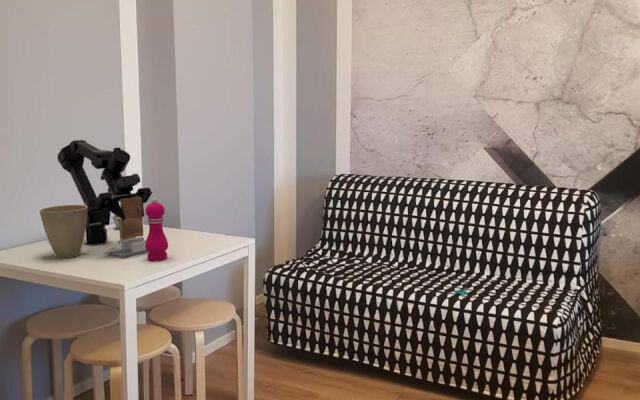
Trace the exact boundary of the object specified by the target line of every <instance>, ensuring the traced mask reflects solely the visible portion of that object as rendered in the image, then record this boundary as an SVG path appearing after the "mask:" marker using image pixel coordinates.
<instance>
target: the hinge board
mask: <svg viewBox="0 0 640 400" xmlns="http://www.w3.org/2000/svg"><path fill="white" fill-rule="evenodd" d="M146 240H147V239H145V237H144V236H140V237H136V238H133V239H128V240H123V241H120V240H119V242H120V249H117V250H112V251H109V252H107V254H108V256H110V257H114V258H119V259H127V258H131V257H132V258H133V257H136V256H140V255H145V254H148V253H149V252H148V251H147V250H146V248H145V244H146Z"/></svg>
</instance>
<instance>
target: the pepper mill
mask: <svg viewBox="0 0 640 400" xmlns="http://www.w3.org/2000/svg"><path fill="white" fill-rule="evenodd" d="M165 210H166V209H165V207H164V205H163V204H161V203H160V202H158V198H156V197H153V198H152V199H151V203H149V204H148V205H147V206H146V207H145V210H144V213H145V216H146V217H147V223H148V228H149V229H148V234H147V238H146V239H145V240H146V244H145V248H146V250H147V251H148V252H149V253H146V254H147V260H148V261H152V262H161V261H166V260H167V259H168V253H167V250H168V248H169V242H168V238H167V236H166V234H165V232H164V229H163V223H164V217H163V216H164V215H165Z"/></svg>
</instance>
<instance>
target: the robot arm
mask: <svg viewBox="0 0 640 400" xmlns="http://www.w3.org/2000/svg"><path fill="white" fill-rule="evenodd" d="M85 159H88V160H90V164H91V165H92V166H93V167H94V168H95V169H96V170H101V169H102V172H101V176H100V180H101V181H103V180H104V181H105V183H106V185H107V187H108V188H107V192H100V193H99V194H98V195H97V194H96V192H95V190H94V188H93V185H92V184H91V181H90V179H89V177H88V175H87V173H86V171H85V168H84V163H85ZM57 161H58V163H59V165H60V166H61V168H62V169H64V170H65V171H66V172H68V173H69V174H70V176H71V178H72V180H73V182H74V184H75V187H76V188H77V191H78V193H79V195H80V197H81V199H82V202H83V203H84V205H85V206H87V207H88V208H87V221H86V229H85V236H86V237H85V239H86V242H85V244H84V245H86V246H87V245H104V244H105V243H106V242H107V241H108V229H107V228H106V226H110V222H111V221H110V220H111V213H112V214H113V215H114V214H115V215H117V216H118V217H120V218H121V219H123V220H125V219H126V217H125V215H124V213H123V211H122V209H121V207H120V205H121V204H120V203H119V202H120V199H125V198H132V197H141V198H142V214H143V218H144V217H145V209H144V208H145V207H144V204H146V203H147V202H148V201H149V199H150V197H151V195H152V194H153V192H152V190H151V188H150V187H139V188H138V189H137V191H136V192H133V191H134V187H135V186H137V185H138V184H140V183H141V177H140V175H139V173H132V175H124V176H123V175H122V173H124V171H125V170H126V168H127V166H128V164H129V162H130V161H131V155H130V153H128V152H127V151H126V150H123V149H121V147H119V146H118V147H113V150H107V149H99V148H98V147H96V146H94V145H92V144H90V143H88V142H87V141H86V140H84V139H78V140H74V139H73V140H72V141H70V142H69V144H68V145H66V146H64V147H63V148H61V149H60V151H59V152H58V153H57Z"/></svg>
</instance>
